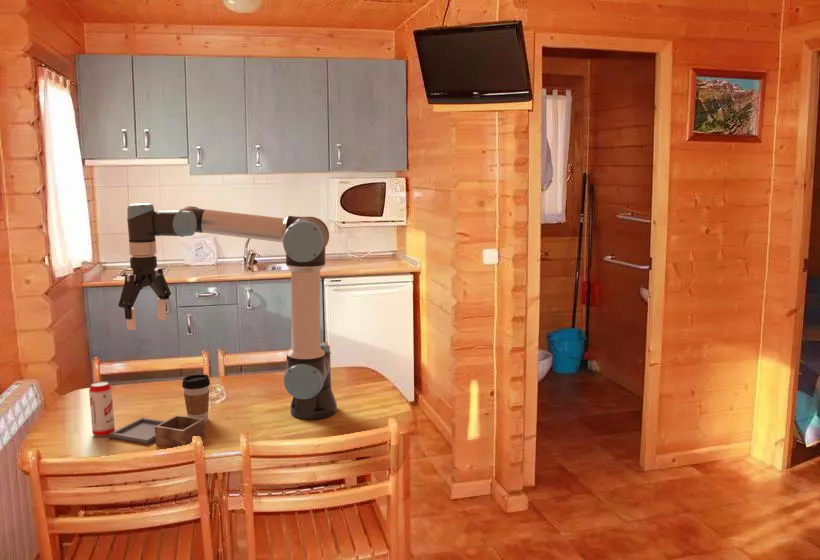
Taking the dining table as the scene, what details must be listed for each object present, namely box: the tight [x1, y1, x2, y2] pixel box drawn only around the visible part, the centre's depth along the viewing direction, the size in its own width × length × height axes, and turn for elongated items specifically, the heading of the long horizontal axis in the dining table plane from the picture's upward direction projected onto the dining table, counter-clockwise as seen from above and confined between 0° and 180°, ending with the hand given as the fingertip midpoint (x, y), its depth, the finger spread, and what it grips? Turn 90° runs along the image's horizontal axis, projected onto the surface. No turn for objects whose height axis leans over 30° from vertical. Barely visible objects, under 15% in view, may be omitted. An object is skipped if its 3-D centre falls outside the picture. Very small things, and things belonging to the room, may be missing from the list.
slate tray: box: [108, 417, 165, 446], centre depth 220 cm, size 14×14×2 cm
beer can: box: [88, 380, 116, 438], centre depth 220 cm, size 6×6×16 cm
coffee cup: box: [181, 374, 211, 423], centre depth 229 cm, size 8×8×15 cm
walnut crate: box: [155, 414, 206, 448], centre depth 214 cm, size 10×10×6 cm
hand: (147, 324), depth 221 cm, fingers open, 13 cm apart
